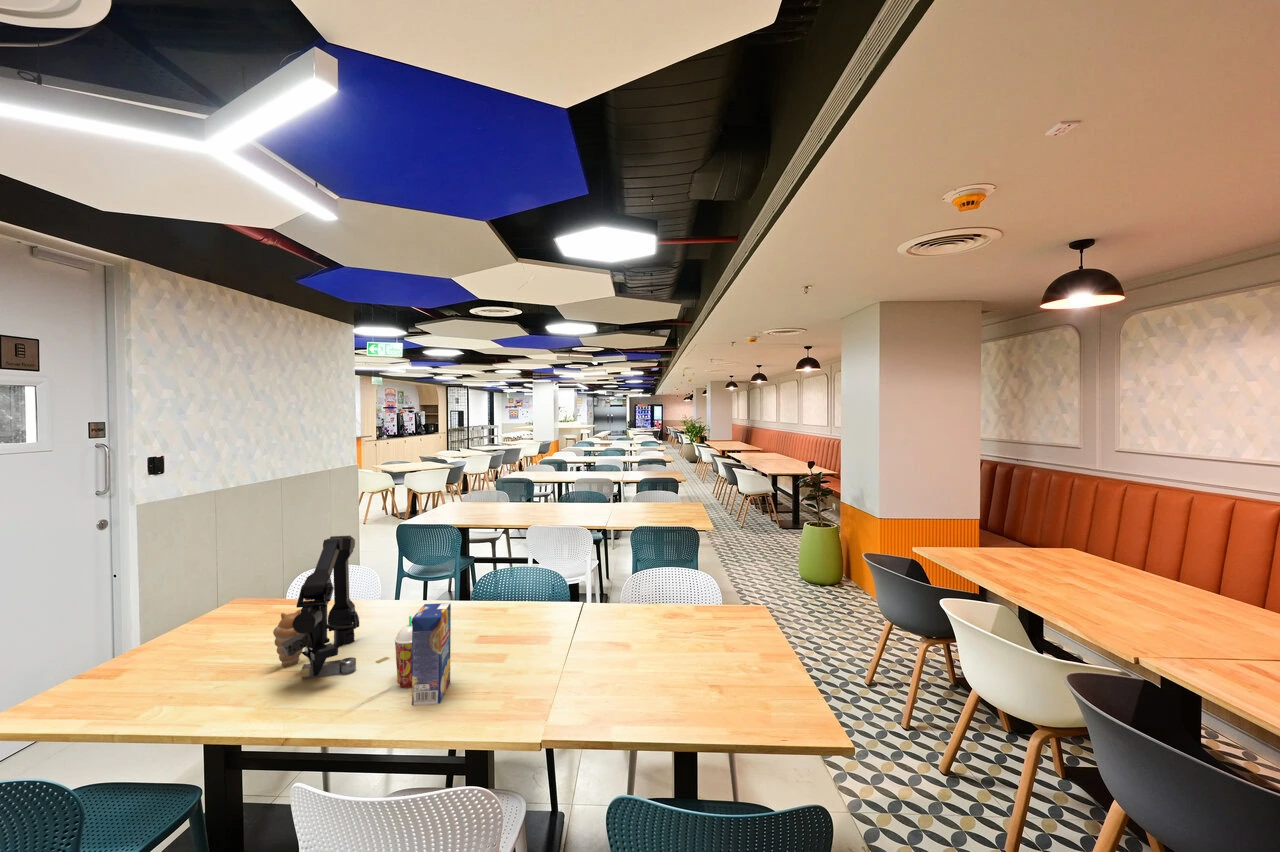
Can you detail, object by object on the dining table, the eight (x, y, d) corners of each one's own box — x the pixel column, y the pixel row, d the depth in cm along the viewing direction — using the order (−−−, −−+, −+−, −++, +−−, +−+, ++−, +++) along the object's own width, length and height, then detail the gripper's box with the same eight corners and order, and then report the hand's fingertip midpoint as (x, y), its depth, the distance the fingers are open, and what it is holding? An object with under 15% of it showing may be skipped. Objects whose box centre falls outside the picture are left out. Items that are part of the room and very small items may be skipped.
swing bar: (357, 667, 163) (357, 656, 164) (354, 673, 159) (354, 662, 159) (305, 674, 159) (305, 663, 159) (300, 680, 155) (300, 669, 155)
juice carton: (439, 703, 144) (440, 616, 145) (411, 705, 144) (412, 618, 144) (450, 683, 156) (450, 602, 157) (424, 684, 156) (424, 603, 156)
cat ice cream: (303, 660, 172) (303, 605, 173) (309, 667, 167) (309, 611, 167) (271, 668, 166) (271, 611, 166) (276, 676, 160) (276, 618, 161)
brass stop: (375, 664, 167) (375, 661, 167) (386, 659, 171) (386, 656, 171) (378, 665, 166) (378, 662, 166) (389, 660, 170) (389, 657, 170)
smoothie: (400, 677, 160) (401, 612, 160) (428, 676, 161) (428, 611, 161) (389, 690, 152) (390, 621, 152) (419, 689, 152) (419, 620, 153)
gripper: (275, 623, 156) (274, 676, 155) (294, 636, 144) (294, 694, 143) (317, 614, 165) (316, 664, 164) (338, 625, 152) (338, 680, 151)
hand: (315, 675), depth 155 cm, fingers closed
